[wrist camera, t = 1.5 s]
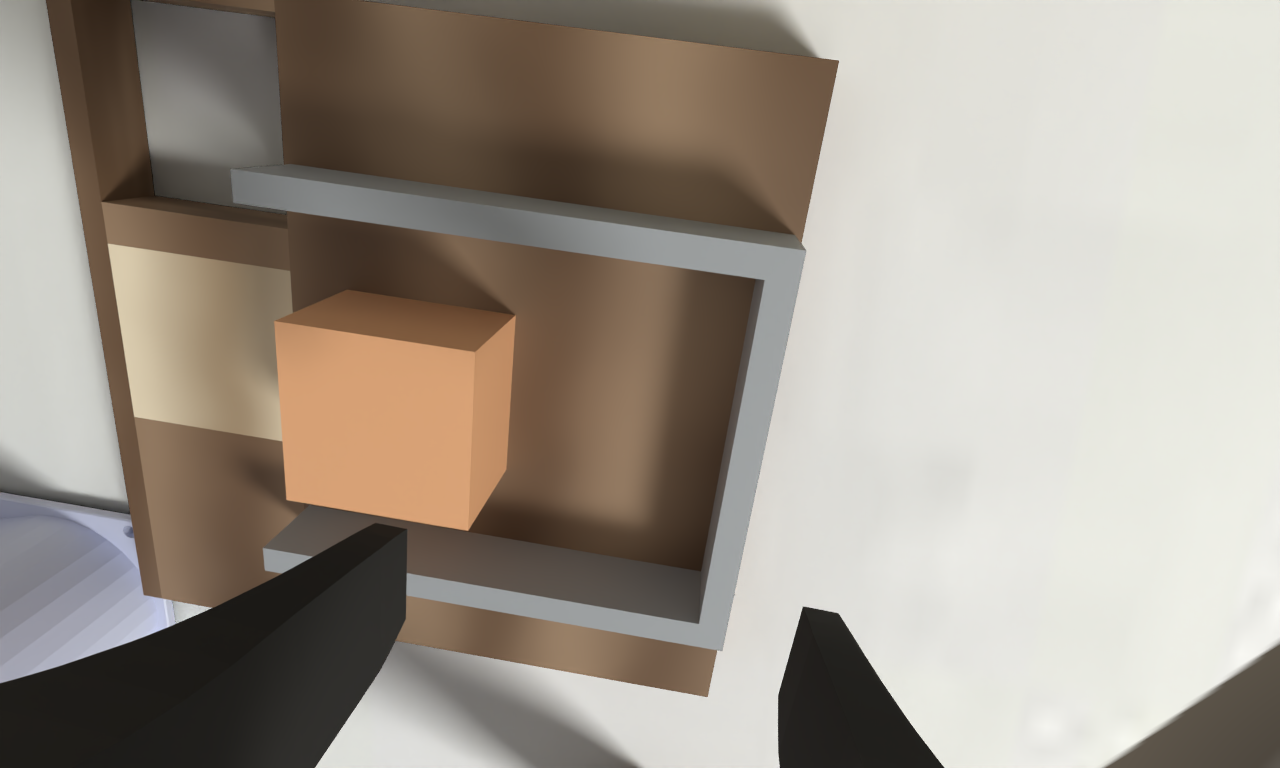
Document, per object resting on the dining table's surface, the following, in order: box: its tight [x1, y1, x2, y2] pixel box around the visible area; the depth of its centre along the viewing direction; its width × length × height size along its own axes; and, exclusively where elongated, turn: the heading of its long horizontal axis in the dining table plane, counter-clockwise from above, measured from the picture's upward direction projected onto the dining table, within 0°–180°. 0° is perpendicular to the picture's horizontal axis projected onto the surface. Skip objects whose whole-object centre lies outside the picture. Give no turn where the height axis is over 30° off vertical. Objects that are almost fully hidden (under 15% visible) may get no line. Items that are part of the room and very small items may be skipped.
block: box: [274, 290, 516, 531], centre depth 19 cm, size 5×5×4 cm
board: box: [46, 0, 839, 697], centre depth 22 cm, size 20×20×2 cm
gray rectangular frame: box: [230, 164, 806, 651], centre depth 19 cm, size 14×12×2 cm
